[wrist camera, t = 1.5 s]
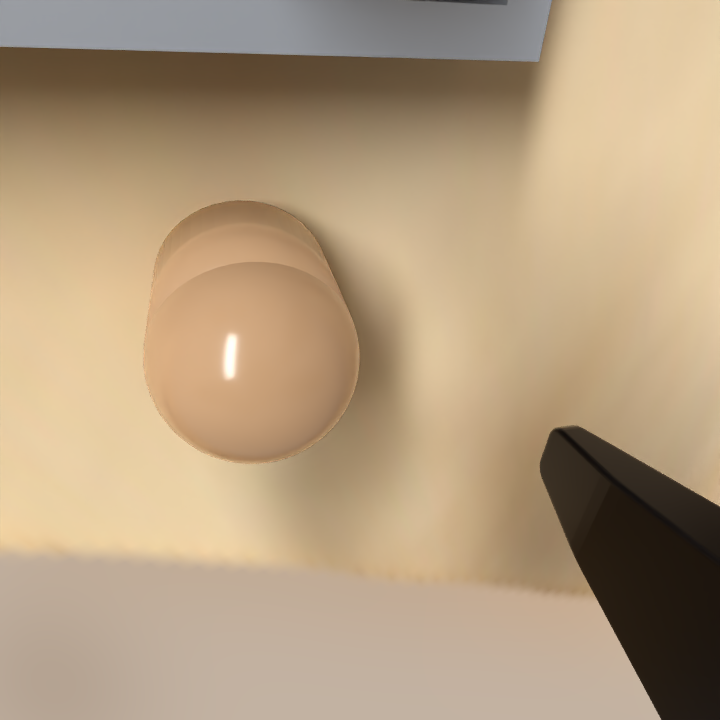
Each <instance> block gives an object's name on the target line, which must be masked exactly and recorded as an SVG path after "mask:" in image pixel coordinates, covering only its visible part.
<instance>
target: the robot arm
mask: <svg viewBox="0 0 720 720" xmlns="http://www.w3.org/2000/svg"><path fill="white" fill-rule="evenodd" d="M540 473H541V477H542V479H543V482H544V484H545V487H546V489H547V492H548V494H549V496H550V499H551V501H552V504H553V506H554V509H555V511H556V513H557V516H558V518H559V521H560V523H561V526H562V528H563V530H564V533H565V535H566V538H567V540H568V543H569V545H570V547H571V549H572V552H573V554H574V556H575V558H576V560H577V562H578V564H579V566H580V568H581V570H582V572H583V574H584V576H585V578H586V580H587V582H588V583H589V585H590V587H591V589H592V591H593V593H594V595H595V597H596V598H597V600H598V602H599V604H600V606H601V608H602V610H603V611H604V613H605V615H606V617H607V619H608V621H609V623H610V625H611V626H612V628H613V630H614V632H615V634H616V636H617V638H618V640H619V641H620V643H621V645H622V647H623V649H624V650H625V652H626V654H627V656H628V658H629V660H630V662H631V664H632V666H633V668H634V669H635V671H636V673H637V675H638V677H639V679H640V681H641V682H642V684H643V686H644V688H645V690H646V692H647V694H648V695H649V697H650V699H651V701H652V703H653V705H654V707H655V708H656V711H657V712H658V714H659V716H660V718H661V720H720V506H718V505H716V504H715V503H713V502H711V501H709V500H708V499H706V498H704V497H702V496H701V495H699V494H697V493H695V492H694V491H692V490H690V489H688V488H687V487H685V486H683V485H681V484H680V483H678V482H676V481H674V480H673V479H671V478H669V477H667V476H666V475H664V474H662V473H660V472H659V471H657V470H655V469H653V468H652V467H650V466H648V465H646V464H645V463H643V462H641V461H639V460H638V459H636V458H634V457H632V456H631V455H629V454H627V453H625V452H624V451H622V450H620V449H618V448H617V447H615V446H613V445H611V444H610V443H608V442H606V441H604V440H603V439H601V438H599V437H597V436H596V435H594V434H592V433H590V432H589V431H587V430H585V429H583V428H581V427H579V426H574V425H573V426H565V427H558V428H555V429H553V430H552V431H551V433H550V435H549V438H548V440H547V443H546V446H545V449H544V452H543V455H542V458H541V461H540Z"/></svg>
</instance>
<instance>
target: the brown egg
mask: <svg viewBox="0 0 720 720" xmlns="http://www.w3.org/2000/svg"><path fill="white" fill-rule="evenodd" d="M359 366H360V351H359V342H358V336H357V332H356V329H355V325H354V323H353V320H352V317H351V314H350V312H349V310H348V308H347V305H346V303H345V301H344V298H343V296H342V294H341V292H340V289H339V287H338V285H337V283H336V280H335V278H334V276H333V274H332V271H331V269H330V267H329V265H328V262H327V260H326V258H325V256H324V253H323V251H322V249H321V247H320V245H319V243H318V241H317V240H316V238H315V237H314V236H313V234H312V233H311V232H310V231H309V229H308V228H307V227H306V226H305V225H304V224H303V223H301V222H300V221H299V220H298V219H296V218H295V217H294V216H292V215H290V214H289V213H287V212H285V211H283V210H281V209H279V208H276V207H274V206H271V205H267V204H264V203H259V202H253V201H229V202H222V203H218V204H214V205H211V206H208V207H205V208H203V209H200V210H198V211H197V212H195V213H193V214H191V215H189V216H188V217H187V218H185V219H184V220H182V221H181V222H180V223H179V224H178V225H177V226H176V227H175V228H174V229H173V230H172V231H171V232H170V234H169V235H168V236H167V237H166V239H165V241H164V242H163V244H162V246H161V248H160V250H159V253H158V255H157V258H156V263H155V268H154V274H153V282H152V289H151V296H150V304H149V311H148V319H147V326H146V334H145V341H144V372H145V378H146V383H147V386H148V390H149V393H150V396H151V398H152V400H153V402H154V404H155V406H156V408H157V410H158V412H159V414H160V415H161V416H162V418H163V419H164V421H165V422H166V423H167V424H168V426H169V427H170V428H171V429H172V430H173V431H174V432H175V433H176V434H177V435H178V436H179V437H180V438H181V439H183V440H184V441H185V442H187V443H188V444H189V445H191V446H192V447H194V448H196V449H197V450H199V451H201V452H203V453H205V454H207V455H209V456H212V457H215V458H218V459H221V460H225V461H229V462H234V463H242V464H261V463H269V462H275V461H279V460H283V459H286V458H289V457H291V456H294V455H296V454H298V453H300V452H302V451H304V450H306V449H308V448H309V447H311V446H313V445H314V444H315V443H317V442H318V441H319V440H320V439H322V438H323V437H324V436H325V435H326V434H327V433H328V432H330V431H331V430H332V428H333V427H334V426H335V425H336V423H337V422H338V421H339V420H340V418H341V417H342V415H343V414H344V412H345V411H346V409H347V407H348V405H349V403H350V401H351V398H352V396H353V393H354V391H355V387H356V384H357V379H358V373H359Z"/></svg>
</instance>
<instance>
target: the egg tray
mask: <svg viewBox="0 0 720 720" xmlns="http://www.w3.org/2000/svg"><path fill="white" fill-rule="evenodd" d="M551 2H552V0H0V47H32V48H68V49H103V50H139V51H175V52H210V53H246V54H282V55H317V56H353V57H389V58H424V59H460V60H496V61H531V62H539V59H540V54H541V49H542V44H543V40H544V35H545V30H546V26H547V21H548V16H549V12H550V7H551Z"/></svg>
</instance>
